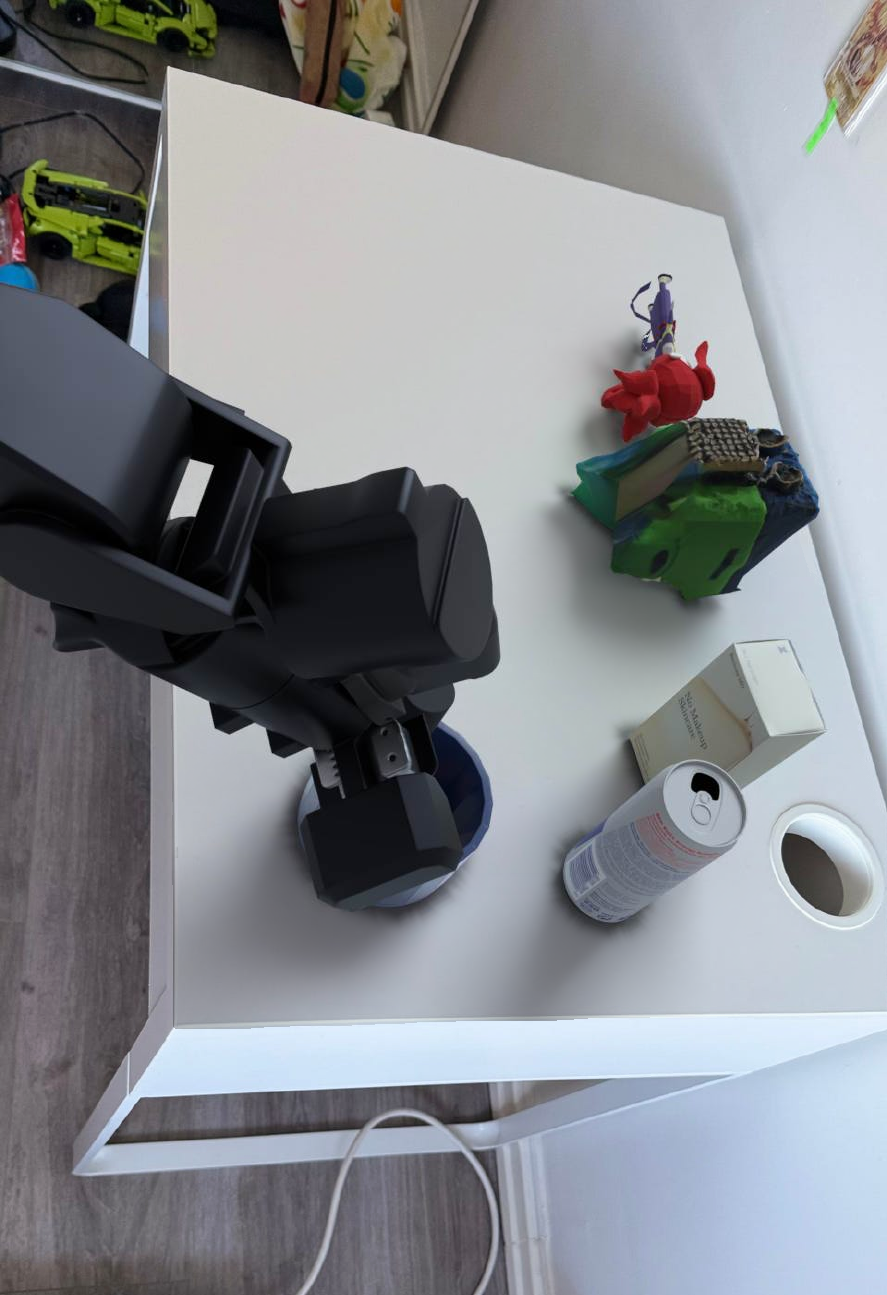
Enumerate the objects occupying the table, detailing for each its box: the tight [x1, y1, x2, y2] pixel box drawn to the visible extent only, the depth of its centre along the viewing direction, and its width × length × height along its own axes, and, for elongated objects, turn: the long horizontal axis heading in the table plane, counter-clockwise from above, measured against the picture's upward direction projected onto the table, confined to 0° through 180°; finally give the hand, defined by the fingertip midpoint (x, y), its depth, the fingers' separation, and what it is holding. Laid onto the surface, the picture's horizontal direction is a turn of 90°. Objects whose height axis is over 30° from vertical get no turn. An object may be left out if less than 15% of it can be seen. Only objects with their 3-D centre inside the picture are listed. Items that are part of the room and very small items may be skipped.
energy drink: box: [562, 759, 749, 923], centre depth 61 cm, size 5×5×12 cm
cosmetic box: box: [629, 637, 828, 791], centre depth 66 cm, size 6×4×12 cm
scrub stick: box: [395, 683, 456, 735], centre depth 56 cm, size 4×4×12 cm
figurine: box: [600, 273, 716, 444], centre depth 84 cm, size 6×8×15 cm
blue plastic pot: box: [297, 720, 494, 908], centre depth 61 cm, size 10×10×6 cm
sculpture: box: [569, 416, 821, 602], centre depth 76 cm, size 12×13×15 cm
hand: (419, 738), depth 56 cm, fingers closed on scrub stick, 2 cm apart
